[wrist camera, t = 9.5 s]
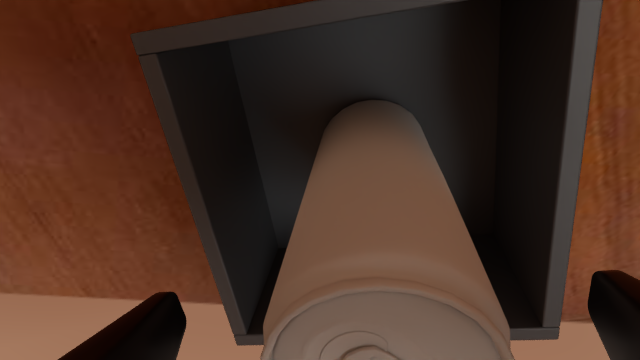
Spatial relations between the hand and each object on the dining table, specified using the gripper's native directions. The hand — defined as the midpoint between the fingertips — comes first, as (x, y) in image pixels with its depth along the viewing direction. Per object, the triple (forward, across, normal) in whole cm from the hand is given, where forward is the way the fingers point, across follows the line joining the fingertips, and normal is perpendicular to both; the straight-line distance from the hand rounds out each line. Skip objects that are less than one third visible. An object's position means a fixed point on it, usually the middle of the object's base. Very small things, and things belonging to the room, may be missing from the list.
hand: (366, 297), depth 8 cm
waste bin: (+11, 0, 0) cm, 11 cm away
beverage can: (+10, 0, 0) cm, 10 cm away
